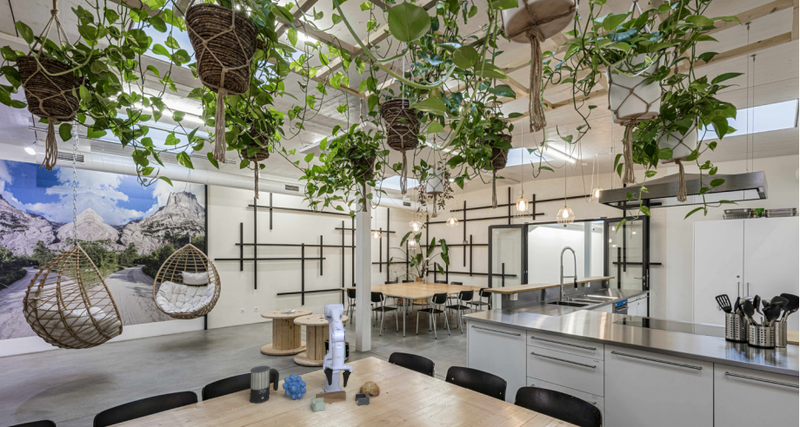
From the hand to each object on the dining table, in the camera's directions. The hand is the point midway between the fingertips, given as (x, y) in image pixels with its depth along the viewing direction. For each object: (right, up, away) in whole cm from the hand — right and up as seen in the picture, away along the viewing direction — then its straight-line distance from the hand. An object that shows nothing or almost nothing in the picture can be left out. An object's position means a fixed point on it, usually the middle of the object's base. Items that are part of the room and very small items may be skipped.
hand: (337, 385), depth 175 cm
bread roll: (+14, -12, +15) cm, 23 cm away
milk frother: (-41, -11, +11) cm, 44 cm away
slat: (-4, -11, +6) cm, 13 cm away
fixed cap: (+11, -10, +5) cm, 16 cm away
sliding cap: (-8, -9, -2) cm, 13 cm away
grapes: (-23, -11, +7) cm, 26 cm away
